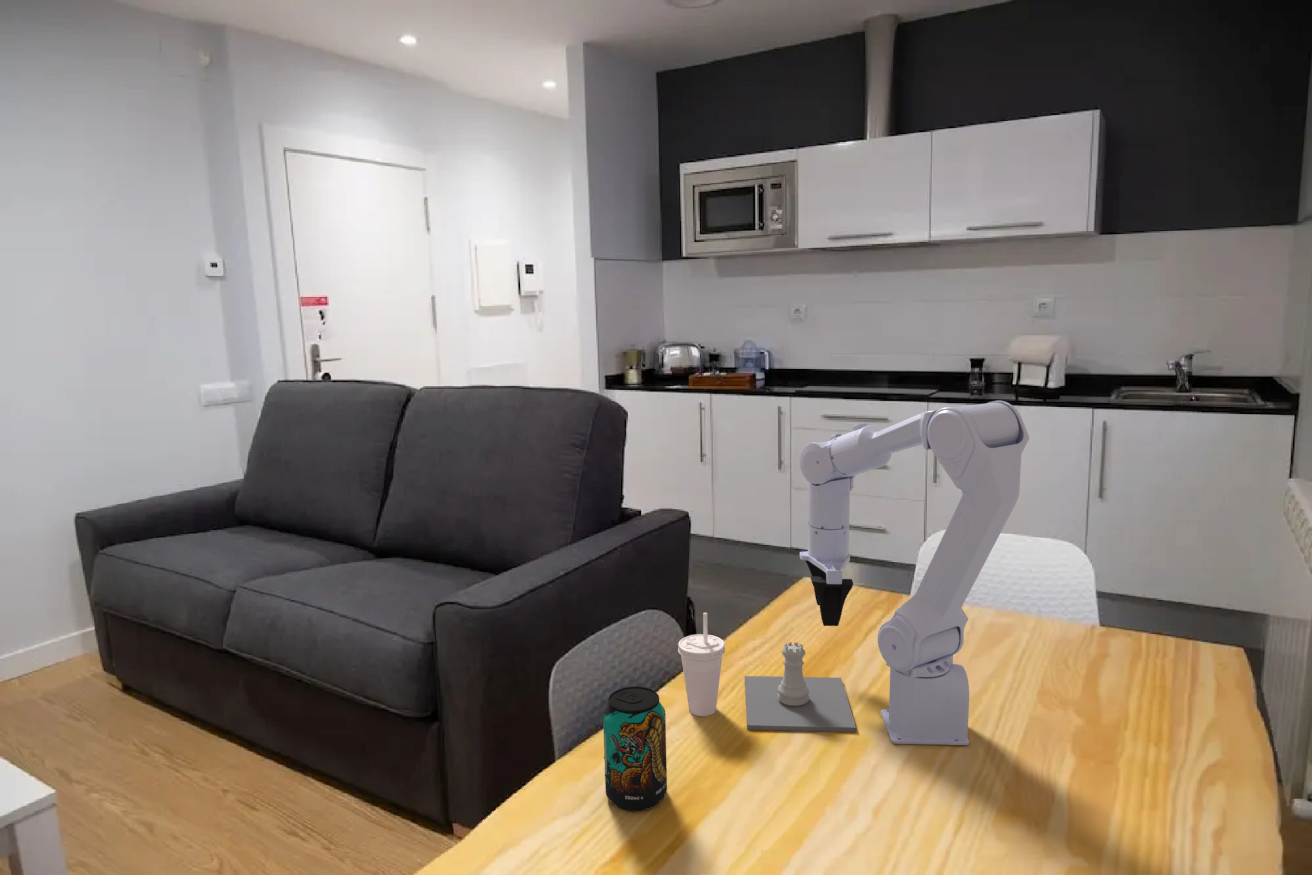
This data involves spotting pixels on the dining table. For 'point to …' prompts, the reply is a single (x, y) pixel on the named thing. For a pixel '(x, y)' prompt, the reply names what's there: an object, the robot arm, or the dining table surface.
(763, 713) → the rubber mat
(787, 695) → the rook chess piece
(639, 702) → the beverage can
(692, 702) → the smoothie
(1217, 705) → the dining table surface
